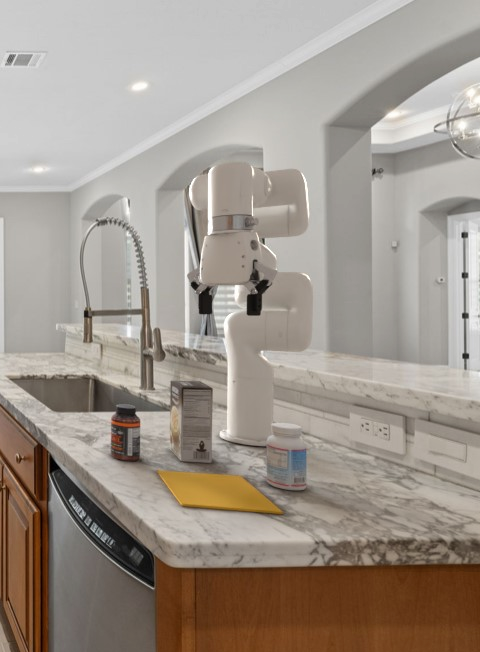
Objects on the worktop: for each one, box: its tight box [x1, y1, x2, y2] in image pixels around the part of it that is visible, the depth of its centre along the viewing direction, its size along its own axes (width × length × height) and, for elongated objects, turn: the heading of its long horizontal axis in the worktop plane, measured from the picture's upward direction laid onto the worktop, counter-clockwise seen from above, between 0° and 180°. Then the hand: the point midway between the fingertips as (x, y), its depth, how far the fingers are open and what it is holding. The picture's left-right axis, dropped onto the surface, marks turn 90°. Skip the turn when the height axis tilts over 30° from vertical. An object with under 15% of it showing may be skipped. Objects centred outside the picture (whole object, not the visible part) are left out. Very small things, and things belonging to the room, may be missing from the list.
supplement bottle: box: [110, 403, 141, 462], centre depth 118 cm, size 6×6×11 cm
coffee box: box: [169, 380, 214, 464], centre depth 119 cm, size 9×6×16 cm
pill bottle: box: [266, 422, 307, 491], centre depth 101 cm, size 6×6×11 cm
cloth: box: [156, 469, 284, 515], centre depth 98 cm, size 18×15×1 cm
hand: (228, 314), depth 106 cm, fingers open, 9 cm apart
